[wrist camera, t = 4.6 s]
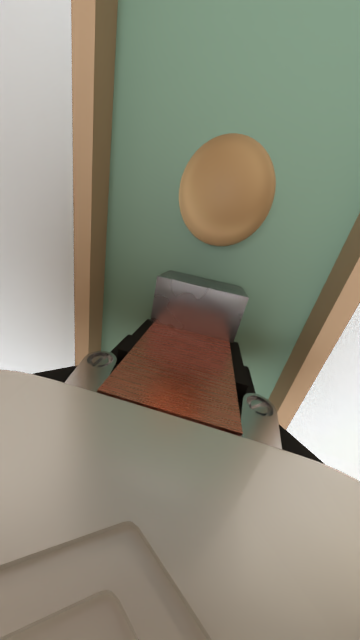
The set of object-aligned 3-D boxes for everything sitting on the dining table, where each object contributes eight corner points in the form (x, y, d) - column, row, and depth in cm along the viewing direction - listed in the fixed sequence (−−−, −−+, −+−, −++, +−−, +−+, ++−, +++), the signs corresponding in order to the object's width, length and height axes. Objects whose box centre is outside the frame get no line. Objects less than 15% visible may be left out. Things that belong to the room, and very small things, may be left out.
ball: (213, 261, 11) (212, 268, 8) (171, 201, 11) (147, 176, 7) (278, 211, 10) (315, 189, 6) (234, 139, 9) (246, 65, 5)
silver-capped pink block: (209, 384, 14) (203, 533, 7) (152, 368, 15) (87, 491, 7) (241, 286, 11) (289, 357, 4) (170, 270, 12) (92, 306, 4)
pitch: (267, 403, 16) (279, 440, 13) (100, 356, 17) (75, 380, 14) (504, -81, 7) (734, -342, 4) (123, -101, 8) (67, -308, 5)
